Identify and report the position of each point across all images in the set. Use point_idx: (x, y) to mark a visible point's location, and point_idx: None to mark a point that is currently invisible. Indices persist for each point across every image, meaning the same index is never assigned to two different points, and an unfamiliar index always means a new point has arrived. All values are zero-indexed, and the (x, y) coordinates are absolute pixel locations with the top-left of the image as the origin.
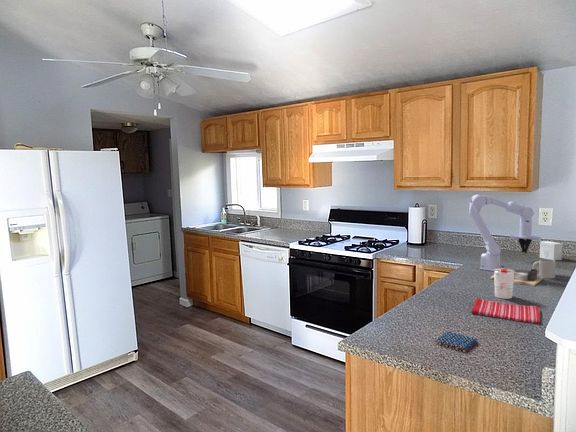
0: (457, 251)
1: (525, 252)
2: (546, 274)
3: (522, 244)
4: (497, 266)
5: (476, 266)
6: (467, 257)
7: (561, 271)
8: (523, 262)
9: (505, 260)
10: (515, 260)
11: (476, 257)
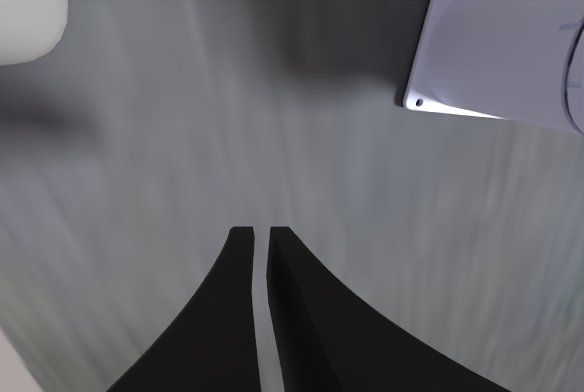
0: (567, 366)
1: (241, 228)
2: None
3: (334, 332)
4: (470, 3)
5: None
6: (555, 297)
7: (20, 277)
8: None
9: None
10: None
11: (511, 319)
